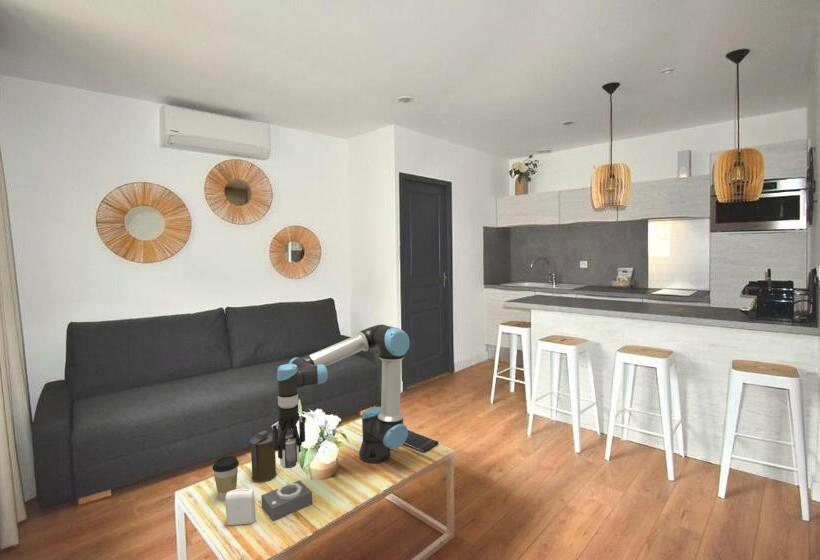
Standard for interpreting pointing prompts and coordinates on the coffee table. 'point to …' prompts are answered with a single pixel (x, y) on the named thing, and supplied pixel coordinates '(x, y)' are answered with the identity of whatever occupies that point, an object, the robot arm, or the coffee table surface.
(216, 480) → the coffee cup
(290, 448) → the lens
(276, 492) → the grey holder base
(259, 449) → the canister
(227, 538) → the coffee table surface
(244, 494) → the photo printer
